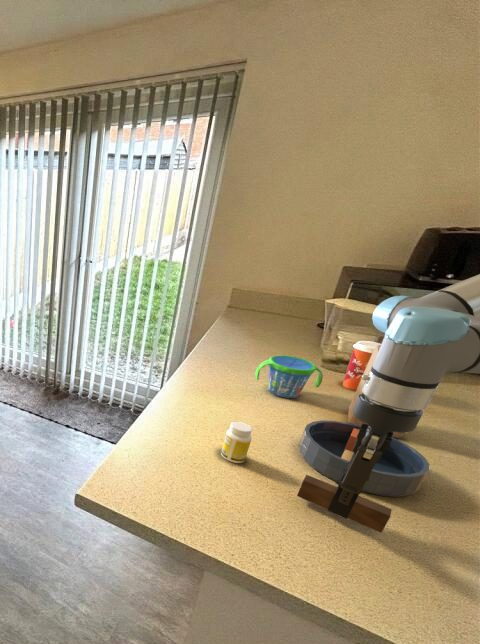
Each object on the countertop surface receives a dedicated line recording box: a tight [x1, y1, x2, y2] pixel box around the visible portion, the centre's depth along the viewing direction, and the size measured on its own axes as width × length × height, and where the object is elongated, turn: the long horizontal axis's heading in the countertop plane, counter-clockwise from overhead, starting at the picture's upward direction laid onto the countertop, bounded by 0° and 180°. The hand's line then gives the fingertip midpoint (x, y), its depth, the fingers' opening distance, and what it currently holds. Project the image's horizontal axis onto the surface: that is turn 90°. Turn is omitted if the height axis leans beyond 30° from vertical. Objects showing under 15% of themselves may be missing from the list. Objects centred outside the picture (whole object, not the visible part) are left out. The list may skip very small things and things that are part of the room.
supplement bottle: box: [220, 421, 253, 464], centre depth 89 cm, size 5×5×8 cm
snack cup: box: [254, 354, 324, 399], centre depth 115 cm, size 16×11×10 cm
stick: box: [296, 474, 393, 534], centre depth 73 cm, size 12×2×4 cm, turn 41°
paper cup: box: [342, 340, 382, 392], centre depth 116 cm, size 8×8×14 cm
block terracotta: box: [344, 428, 359, 452], centre depth 89 cm, size 4×4×4 cm
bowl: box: [297, 419, 431, 498], centre depth 86 cm, size 20×20×6 cm
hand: (338, 509), depth 73 cm, fingers closed on stick, 2 cm apart
